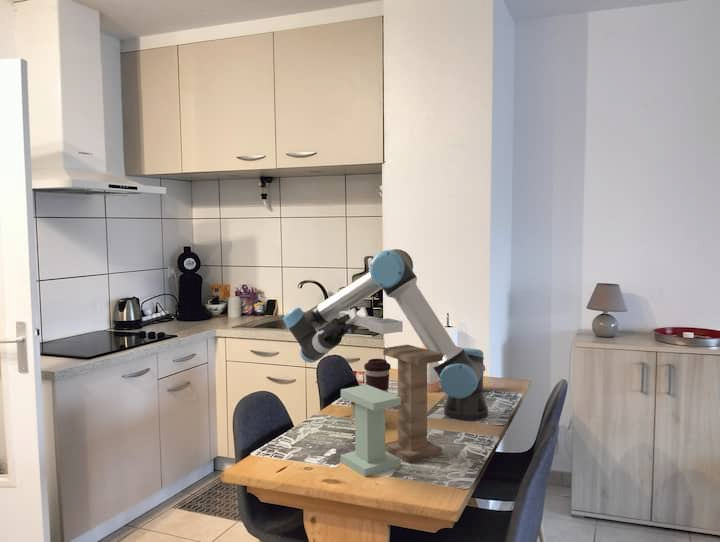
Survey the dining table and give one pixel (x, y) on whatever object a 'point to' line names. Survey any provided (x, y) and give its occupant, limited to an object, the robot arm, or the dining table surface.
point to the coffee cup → (377, 373)
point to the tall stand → (412, 403)
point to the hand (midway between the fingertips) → (360, 311)
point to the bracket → (376, 323)
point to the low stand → (370, 430)
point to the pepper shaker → (431, 378)
